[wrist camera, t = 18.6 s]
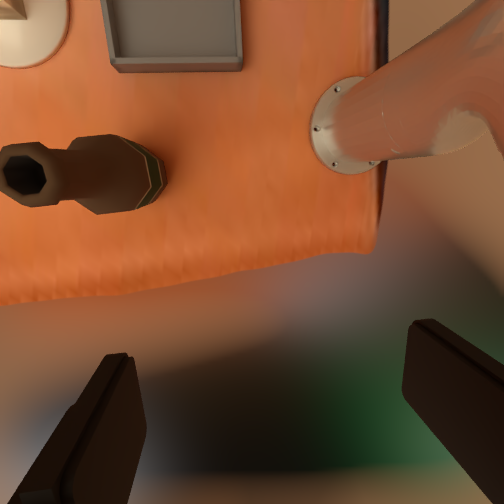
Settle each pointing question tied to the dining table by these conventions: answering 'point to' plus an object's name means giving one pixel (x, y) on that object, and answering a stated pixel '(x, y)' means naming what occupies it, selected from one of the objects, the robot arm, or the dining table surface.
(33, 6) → the off-white plate
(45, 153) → the beer bottle
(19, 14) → the birch block
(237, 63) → the gray bin
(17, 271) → the dining table surface
